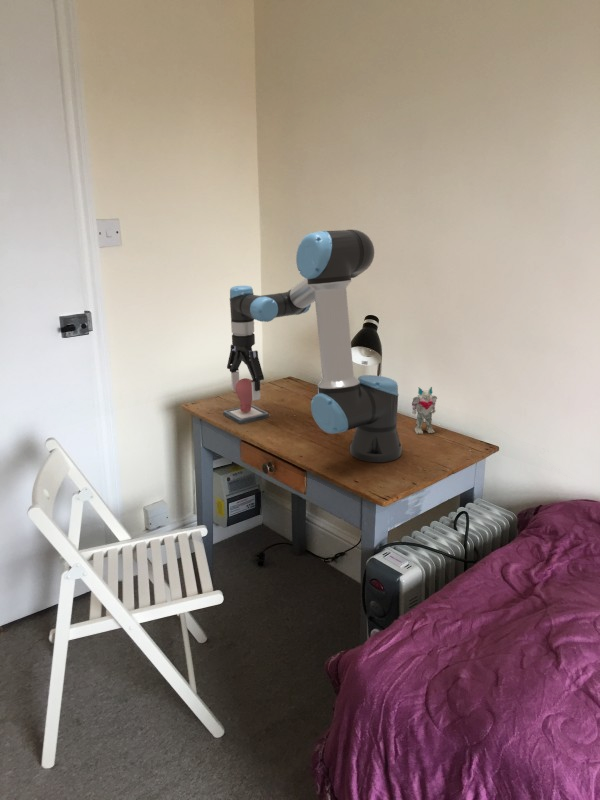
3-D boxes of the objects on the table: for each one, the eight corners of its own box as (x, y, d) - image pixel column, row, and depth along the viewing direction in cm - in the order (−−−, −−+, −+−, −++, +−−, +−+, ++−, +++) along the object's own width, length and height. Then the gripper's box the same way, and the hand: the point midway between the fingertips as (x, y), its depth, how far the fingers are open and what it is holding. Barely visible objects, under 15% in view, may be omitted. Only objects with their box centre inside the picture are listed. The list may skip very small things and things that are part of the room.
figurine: (406, 432, 209) (408, 387, 204) (416, 424, 215) (418, 381, 210) (430, 436, 205) (433, 391, 200) (439, 429, 211) (442, 385, 206)
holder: (269, 417, 223) (269, 413, 222) (240, 424, 216) (239, 420, 216) (251, 408, 232) (251, 404, 231) (223, 415, 225) (223, 410, 225)
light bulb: (253, 416, 220) (252, 382, 216) (233, 414, 221) (232, 380, 217) (258, 409, 226) (258, 376, 222) (239, 408, 228) (238, 375, 224)
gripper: (273, 338, 207) (275, 401, 214) (234, 326, 226) (237, 384, 233) (253, 341, 203) (255, 406, 209) (215, 328, 222) (218, 388, 229)
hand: (245, 394), depth 221 cm, fingers open, 13 cm apart
